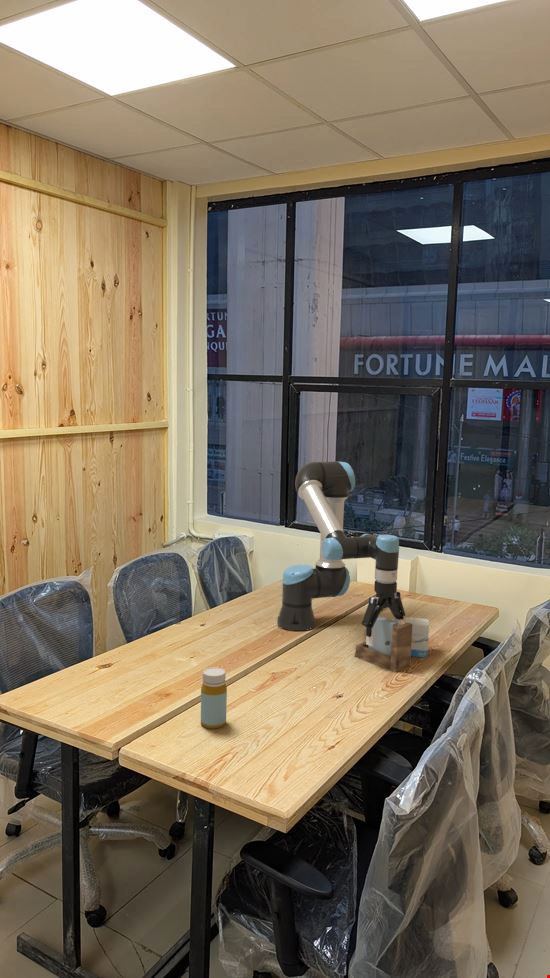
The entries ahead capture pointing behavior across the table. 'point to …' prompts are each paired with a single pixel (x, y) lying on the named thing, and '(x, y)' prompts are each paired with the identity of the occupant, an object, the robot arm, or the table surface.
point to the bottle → (213, 698)
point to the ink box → (419, 636)
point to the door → (383, 635)
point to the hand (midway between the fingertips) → (382, 641)
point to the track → (398, 653)
